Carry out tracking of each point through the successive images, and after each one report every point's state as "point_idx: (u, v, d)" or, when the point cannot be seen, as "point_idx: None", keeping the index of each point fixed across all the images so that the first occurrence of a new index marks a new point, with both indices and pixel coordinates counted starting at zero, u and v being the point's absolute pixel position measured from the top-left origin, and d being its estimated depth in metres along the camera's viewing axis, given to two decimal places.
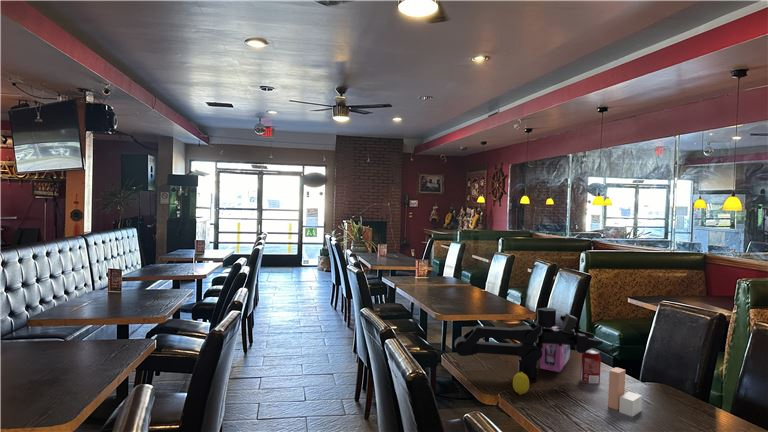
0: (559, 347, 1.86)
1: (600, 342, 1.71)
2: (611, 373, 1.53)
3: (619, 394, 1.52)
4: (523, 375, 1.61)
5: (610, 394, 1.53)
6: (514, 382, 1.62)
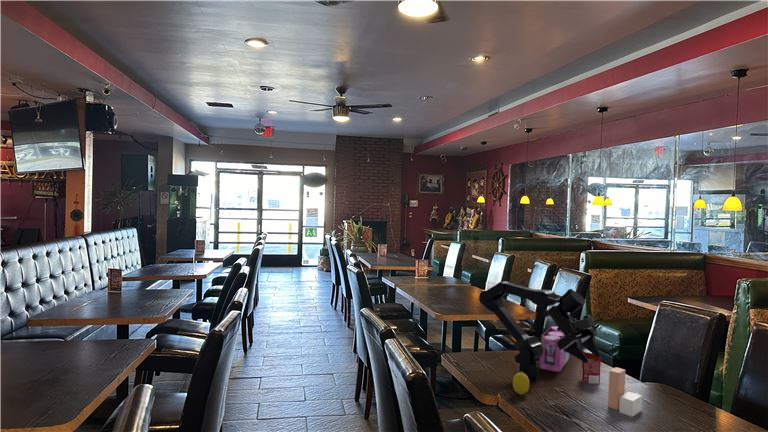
0: None
1: (585, 360, 1.57)
2: (611, 373, 1.53)
3: (619, 394, 1.52)
4: (523, 375, 1.61)
5: (610, 394, 1.53)
6: (514, 382, 1.62)
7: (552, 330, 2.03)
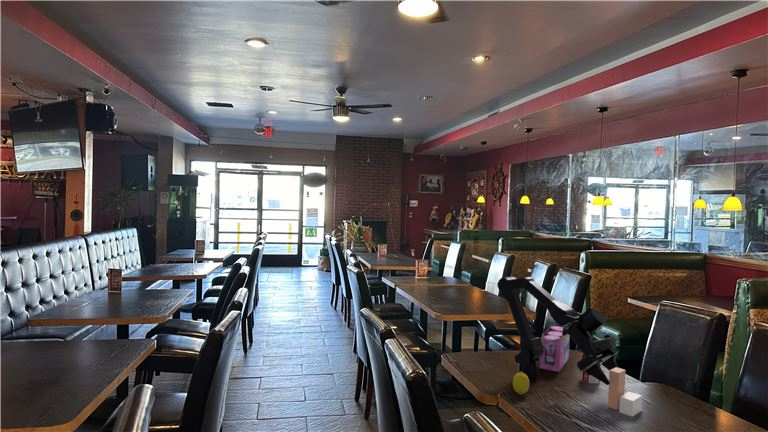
0: (559, 347, 1.86)
1: (606, 382, 1.51)
2: (611, 373, 1.53)
3: (619, 394, 1.52)
4: (523, 375, 1.61)
5: (610, 394, 1.53)
6: (514, 382, 1.62)
7: (552, 330, 2.03)
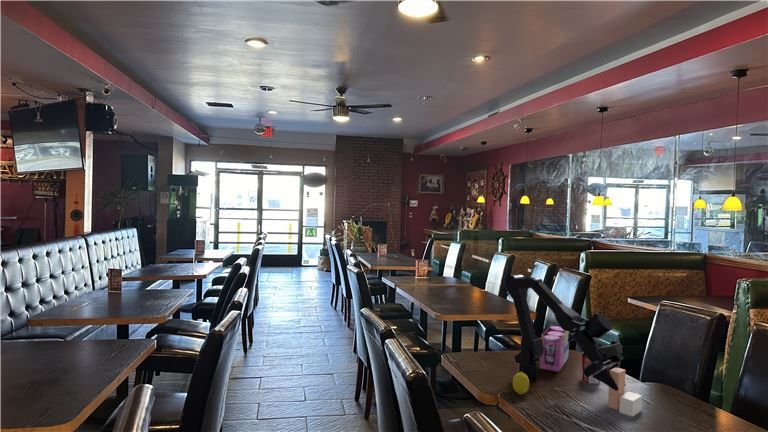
0: (559, 347, 1.86)
1: (615, 387, 1.51)
2: (611, 373, 1.53)
3: (619, 394, 1.52)
4: (523, 375, 1.61)
5: (610, 394, 1.53)
6: (514, 382, 1.62)
7: (551, 330, 2.03)
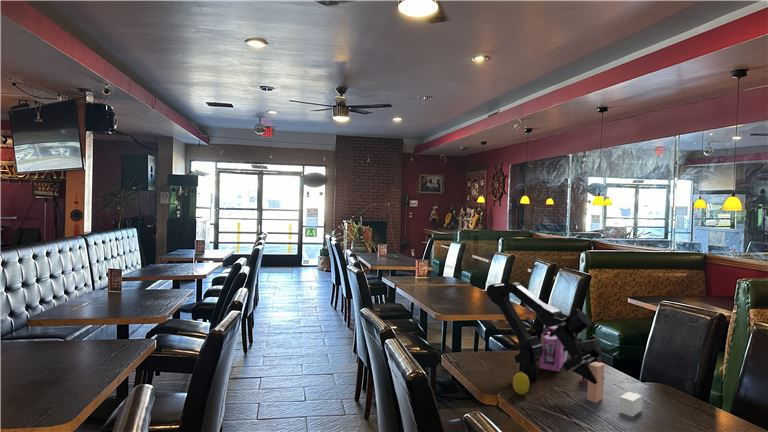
0: (558, 346, 1.87)
1: (594, 381, 1.56)
2: (590, 367, 1.58)
3: (598, 387, 1.57)
4: (523, 375, 1.61)
5: (589, 387, 1.58)
6: (514, 382, 1.62)
7: None
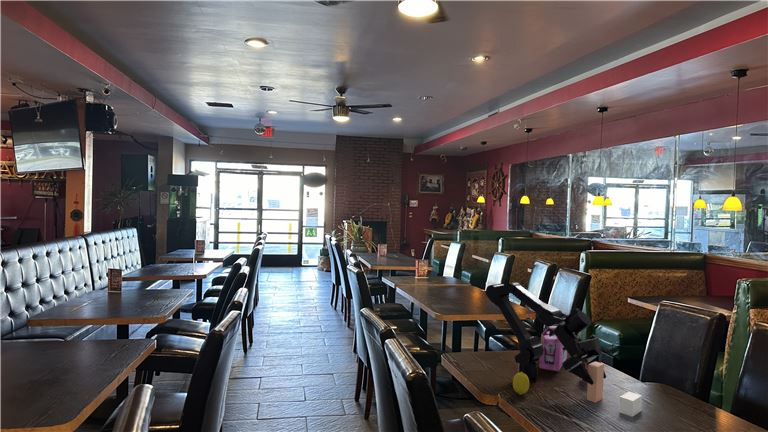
0: (558, 346, 1.87)
1: (590, 381, 1.55)
2: (590, 367, 1.58)
3: (597, 387, 1.57)
4: (523, 375, 1.61)
5: (588, 387, 1.58)
6: (514, 382, 1.62)
7: None
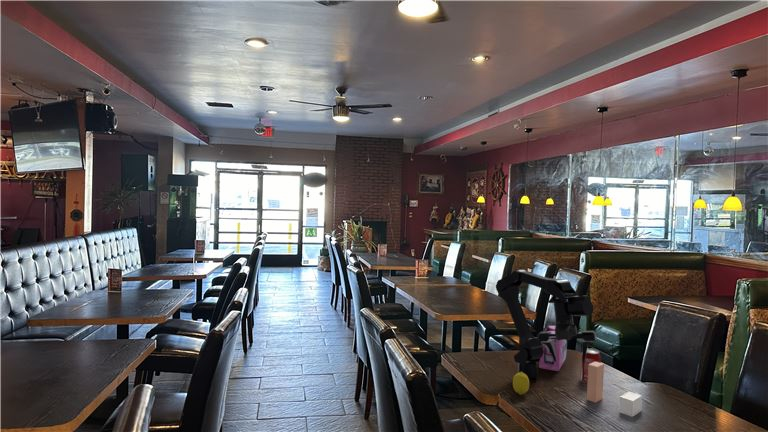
0: (558, 346, 1.87)
1: None
2: (590, 367, 1.58)
3: (597, 387, 1.57)
4: (523, 375, 1.61)
5: (588, 387, 1.58)
6: (514, 382, 1.62)
7: (550, 329, 2.04)
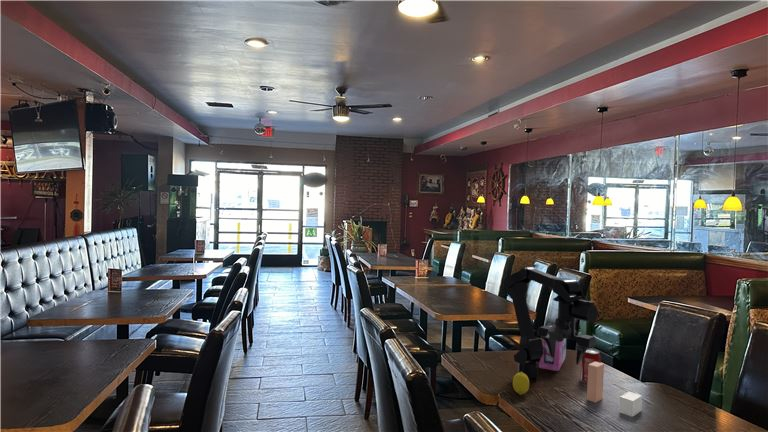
0: (558, 346, 1.87)
1: None
2: (590, 367, 1.58)
3: (597, 387, 1.57)
4: (523, 375, 1.61)
5: (588, 387, 1.58)
6: (514, 382, 1.62)
7: None
